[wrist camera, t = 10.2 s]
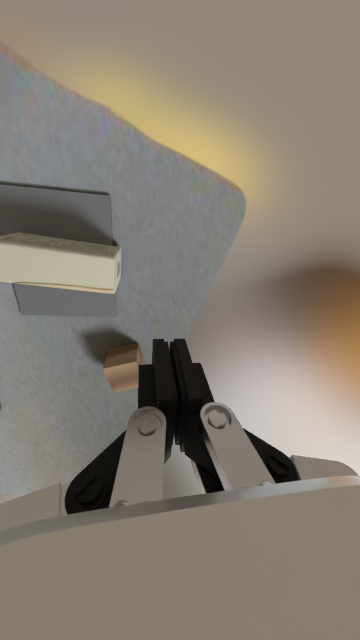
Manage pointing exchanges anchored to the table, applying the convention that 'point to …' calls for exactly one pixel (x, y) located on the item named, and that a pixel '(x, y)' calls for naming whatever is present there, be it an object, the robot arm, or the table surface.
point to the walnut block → (123, 367)
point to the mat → (60, 222)
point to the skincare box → (59, 263)
